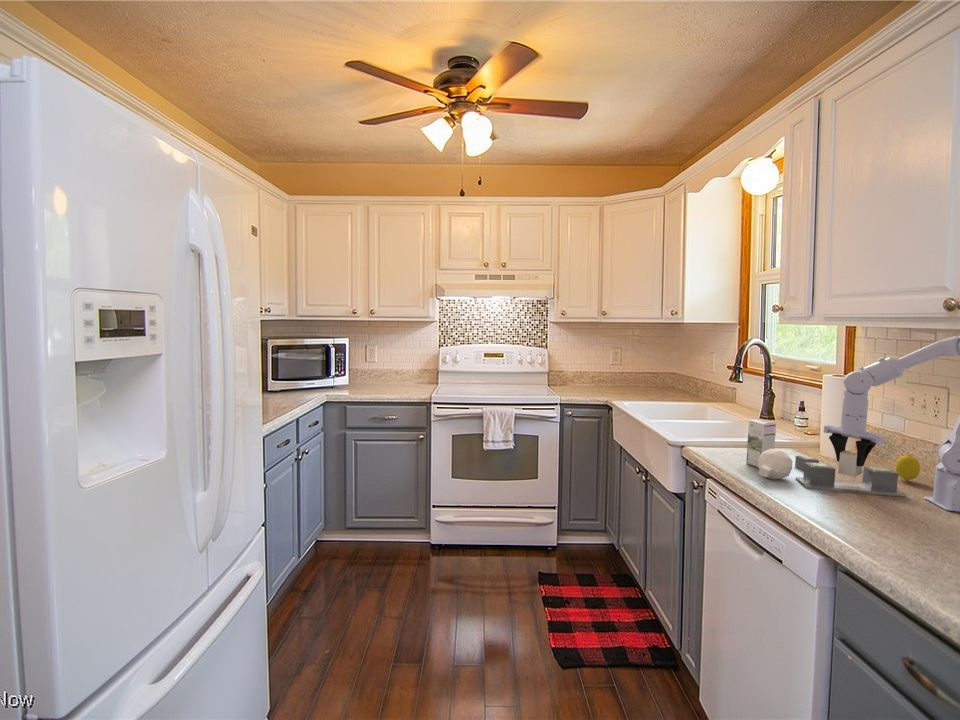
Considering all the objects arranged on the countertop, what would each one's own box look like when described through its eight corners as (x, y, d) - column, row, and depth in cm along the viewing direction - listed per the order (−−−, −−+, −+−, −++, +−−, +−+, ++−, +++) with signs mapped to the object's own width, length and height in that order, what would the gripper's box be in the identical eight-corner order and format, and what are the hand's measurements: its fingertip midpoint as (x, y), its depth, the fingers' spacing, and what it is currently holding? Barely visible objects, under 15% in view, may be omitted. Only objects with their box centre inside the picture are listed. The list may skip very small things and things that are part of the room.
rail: (905, 496, 140) (907, 474, 139) (805, 488, 145) (807, 467, 144) (889, 487, 147) (891, 466, 147) (795, 479, 153) (796, 459, 152)
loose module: (861, 473, 146) (863, 451, 145) (854, 477, 143) (857, 455, 143) (845, 469, 150) (847, 448, 149) (838, 472, 147) (840, 451, 146)
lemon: (892, 477, 157) (895, 451, 157) (916, 480, 154) (919, 453, 154) (896, 482, 152) (898, 455, 152) (920, 485, 150) (923, 458, 149)
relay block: (817, 473, 160) (819, 459, 160) (805, 472, 160) (806, 459, 160) (807, 468, 165) (808, 455, 165) (794, 468, 165) (795, 455, 165)
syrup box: (774, 467, 165) (777, 422, 164) (760, 469, 163) (763, 423, 162) (758, 462, 170) (761, 418, 169) (745, 464, 168) (748, 419, 167)
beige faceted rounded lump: (762, 464, 161) (743, 476, 154) (772, 439, 157) (754, 450, 150) (791, 480, 155) (773, 492, 148) (802, 454, 151) (785, 465, 144)
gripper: (892, 419, 140) (887, 469, 141) (835, 409, 153) (832, 455, 154) (877, 420, 137) (872, 471, 138) (820, 411, 150) (816, 457, 151)
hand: (850, 463), depth 146 cm, fingers closed on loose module, 5 cm apart
